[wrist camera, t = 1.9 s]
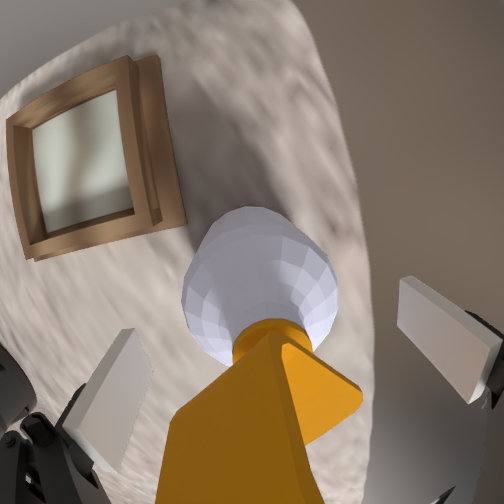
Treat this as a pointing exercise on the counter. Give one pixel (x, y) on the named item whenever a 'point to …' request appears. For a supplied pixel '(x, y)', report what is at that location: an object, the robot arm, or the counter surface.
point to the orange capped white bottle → (256, 366)
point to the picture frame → (94, 161)
